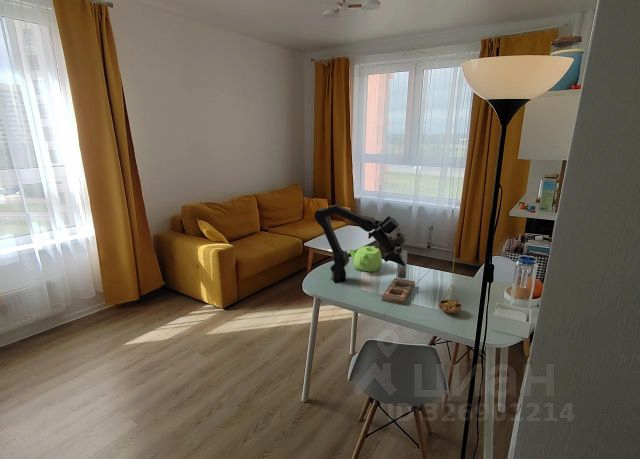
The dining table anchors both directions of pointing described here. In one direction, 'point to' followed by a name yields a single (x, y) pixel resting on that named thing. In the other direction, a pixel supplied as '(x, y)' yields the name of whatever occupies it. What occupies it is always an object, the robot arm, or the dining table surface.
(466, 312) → the dining table surface
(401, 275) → the peg
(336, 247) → the robot arm
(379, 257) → the teapot
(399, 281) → the brown flat block
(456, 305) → the bird feeder
